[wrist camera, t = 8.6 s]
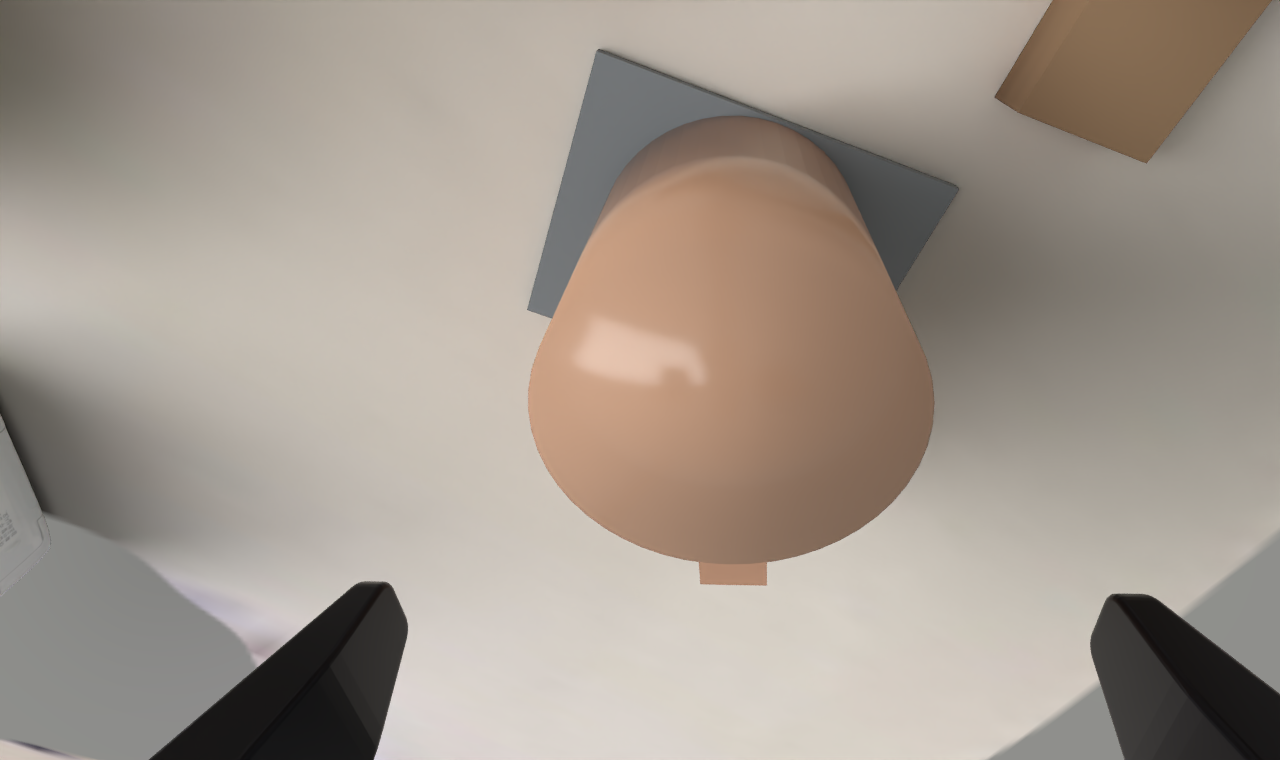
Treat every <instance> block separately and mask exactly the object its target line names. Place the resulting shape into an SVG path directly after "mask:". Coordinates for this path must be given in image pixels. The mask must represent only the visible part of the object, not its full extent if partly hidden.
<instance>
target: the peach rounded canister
mask: <svg viewBox="0 0 1280 760" xmlns="http://www.w3.org/2000/svg"><path fill="white" fill-rule="evenodd" d="M528 411H529V417H530V424H531V430H532V433H533V437H534V440H535V443H536V446H537V449H538V451H539V454H540V456H541V458H542V460H543V462H544V464H545V466H546V468H547V470H548V471H549V473H550V474H551V476H552V477H553V479H554V480H555V482H556V483H557V485H558V486H559V487H560V488H561V489H562V491H563V492H564V493H565V494H566V495H567V496H568V498H569V499H570V500H571V501H572V502H573V503H574V504H575V505H576V506H577V507H579V508H580V509H581V510H582V511H583V512H584V513H585V514H586V515H587V516H589V517H590V518H592V519H593V520H594V521H596V522H597V523H598V524H600V525H601V526H602V527H604V528H606V529H607V530H609V531H611V532H612V533H614V534H616V535H618V536H619V537H621V538H623V539H625V540H627V541H629V542H632V543H634V544H636V545H638V546H640V547H643V548H646V549H649V550H651V551H654V552H657V553H660V554H663V555H667V556H671V557H675V558H679V559H684V560H690V561H696V562H699V570H700V583H701V584H717V585H767V562H771V561H777V560H782V559H787V558H791V557H796V556H799V555H803V554H806V553H809V552H812V551H815V550H818V549H821V548H823V547H825V546H828V545H830V544H832V543H835V542H837V541H839V540H841V539H843V538H845V537H846V536H848V535H850V534H852V533H853V532H855V531H857V530H859V529H860V528H862V527H863V526H864V525H866V524H867V523H869V522H870V521H871V520H873V519H874V518H875V517H877V516H878V515H879V514H880V513H881V512H882V511H883V510H884V509H886V508H887V507H888V506H889V505H890V504H891V503H892V502H893V501H894V500H895V499H896V497H897V496H898V495H899V494H900V493H901V491H902V490H903V489H904V488H905V487H906V485H907V484H908V483H909V481H910V479H911V478H912V476H913V474H914V473H915V471H916V470H917V468H918V466H919V464H920V462H921V460H922V457H923V455H924V453H925V450H926V448H927V445H928V441H929V437H930V433H931V429H932V425H933V414H934V393H933V383H932V377H931V374H930V370H929V366H928V363H927V359H926V356H925V354H924V352H923V350H922V347H921V345H920V343H919V341H918V339H917V336H916V334H915V332H914V330H913V328H912V325H911V323H910V321H909V319H908V317H907V314H906V312H905V310H904V308H903V306H902V303H901V301H900V299H899V297H898V295H897V292H896V290H895V288H894V286H893V284H892V281H891V279H890V277H889V275H888V272H887V270H886V268H885V266H884V264H883V261H882V259H881V257H880V255H879V253H878V250H877V248H876V246H875V244H874V242H873V239H872V237H871V235H870V233H869V231H868V228H867V226H866V224H865V222H864V220H863V217H862V215H861V213H860V211H859V209H858V206H857V204H856V202H855V200H854V198H853V195H852V193H851V191H850V189H849V187H848V185H847V182H846V180H845V178H844V177H843V175H842V174H841V172H840V171H839V169H838V168H837V166H836V165H835V163H834V162H833V161H832V160H831V159H830V158H829V157H828V156H827V155H826V153H825V152H824V151H823V150H821V149H820V148H819V147H818V146H817V145H815V144H814V143H813V142H812V141H811V140H809V139H808V138H806V137H804V136H803V135H801V134H799V133H798V132H796V131H794V130H792V129H790V128H788V127H785V126H783V125H781V124H778V123H775V122H772V121H768V120H764V119H761V118H755V117H747V116H717V117H711V118H704V119H700V120H696V121H693V122H690V123H686V124H683V125H681V126H679V127H677V128H674V129H672V130H670V131H668V132H666V133H664V134H663V135H661V136H659V137H658V138H656V139H655V140H653V141H651V142H650V143H649V144H648V145H647V146H645V147H644V148H643V149H642V150H640V151H639V152H638V153H637V154H636V155H635V156H634V157H633V158H632V159H631V161H630V162H629V163H628V164H627V165H626V166H625V168H624V169H623V170H622V172H621V173H620V175H619V176H618V177H617V179H616V181H615V183H614V185H613V186H612V188H611V190H610V192H609V194H608V196H607V199H606V201H605V203H604V205H603V207H602V210H601V212H600V214H599V216H598V218H597V221H596V223H595V225H594V227H593V230H592V232H591V234H590V236H589V238H588V241H587V243H586V245H585V247H584V249H583V252H582V254H581V256H580V258H579V260H578V263H577V265H576V267H575V269H574V271H573V274H572V276H571V278H570V280H569V282H568V285H567V287H566V289H565V291H564V294H563V296H562V298H561V300H560V302H559V305H558V307H557V309H556V311H555V313H554V316H553V318H552V320H551V322H550V324H549V327H548V329H547V331H546V333H545V335H544V338H543V340H542V342H541V344H540V346H539V349H538V352H537V355H536V358H535V361H534V364H533V367H532V371H531V377H530V383H529V389H528Z"/></svg>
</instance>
